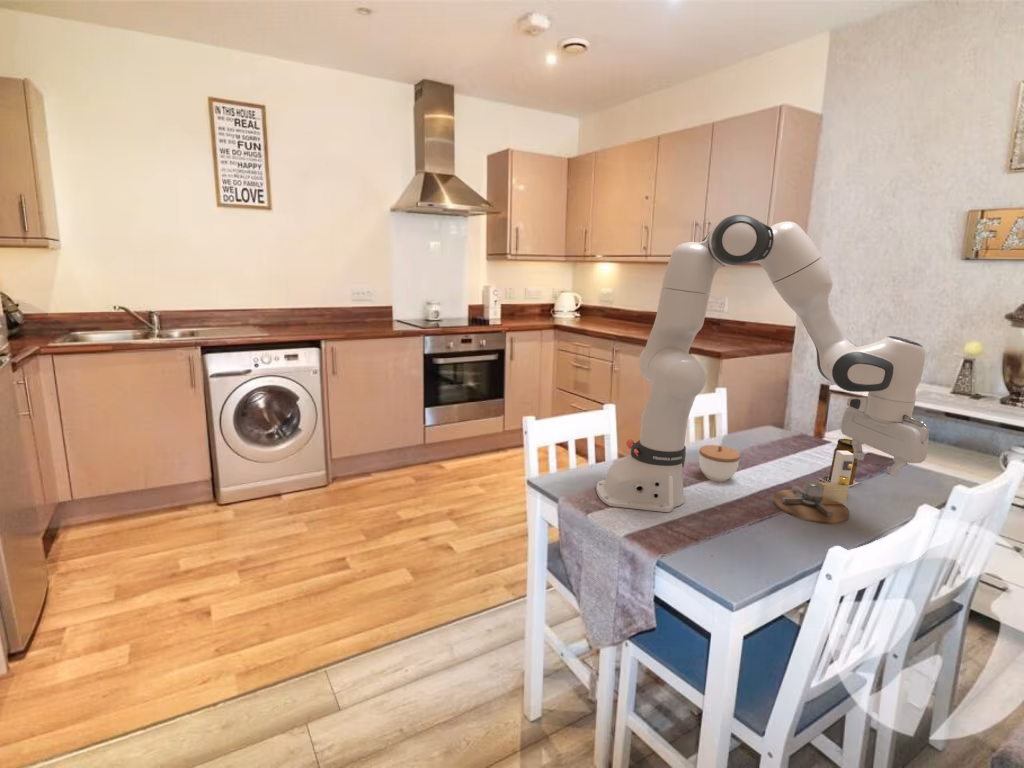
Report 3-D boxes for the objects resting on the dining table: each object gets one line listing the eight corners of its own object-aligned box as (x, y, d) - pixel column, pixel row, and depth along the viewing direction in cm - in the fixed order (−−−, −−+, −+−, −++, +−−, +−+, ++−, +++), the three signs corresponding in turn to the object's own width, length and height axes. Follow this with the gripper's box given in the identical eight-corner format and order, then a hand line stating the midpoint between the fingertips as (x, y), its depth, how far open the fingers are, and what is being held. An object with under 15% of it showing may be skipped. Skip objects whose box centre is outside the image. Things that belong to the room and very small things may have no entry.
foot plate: (794, 523, 130) (795, 519, 130) (761, 492, 147) (761, 488, 146) (864, 524, 131) (865, 520, 130) (823, 493, 147) (824, 490, 147)
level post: (837, 498, 144) (846, 456, 141) (828, 492, 148) (836, 450, 145) (848, 499, 144) (857, 456, 142) (839, 492, 148) (847, 450, 145)
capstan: (863, 516, 132) (869, 490, 130) (800, 516, 131) (804, 490, 129) (825, 490, 146) (829, 466, 145) (767, 490, 145) (771, 466, 143)
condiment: (859, 483, 155) (867, 443, 152) (844, 489, 151) (852, 448, 148) (833, 474, 161) (840, 435, 158) (818, 479, 156) (825, 440, 154)
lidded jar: (740, 476, 157) (744, 445, 155) (731, 488, 148) (736, 456, 146) (702, 466, 163) (706, 437, 160) (691, 478, 154) (695, 447, 152)
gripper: (943, 424, 114) (926, 485, 117) (864, 397, 133) (851, 450, 137) (918, 424, 113) (902, 486, 116) (842, 396, 132) (830, 450, 135)
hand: (874, 466), depth 126 cm, fingers open, 8 cm apart
